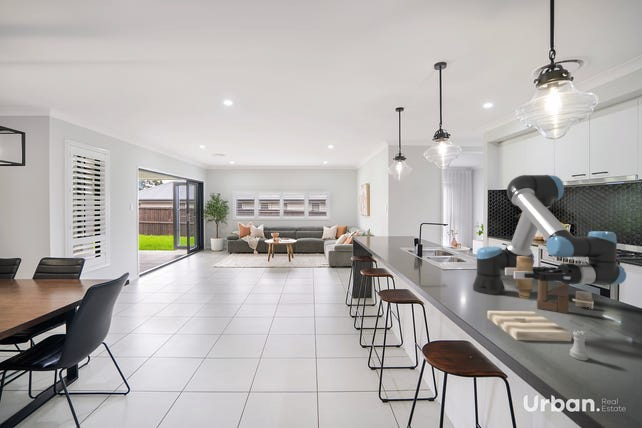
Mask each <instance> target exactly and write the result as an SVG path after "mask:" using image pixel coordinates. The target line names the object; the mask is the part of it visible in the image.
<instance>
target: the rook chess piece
mask: <svg viewBox="0 0 642 428" xmlns="http://www.w3.org/2000/svg"><path fill="white" fill-rule="evenodd" d="M572 335H573V345H572V346H571V348H570V349H569V355H570V357H572V358H573V359H576V360H578V361H583V362H584V361H588V360H589V359H590V358H589V354H588V353H589V352H588V350H587V349H586V346H585V345H586V344H585V342H586V337H587V335H586V331H584V330H581V331H580V330H579V329H574V330H573V332H572Z"/></svg>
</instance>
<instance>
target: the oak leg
mask: <svg viewBox="0 0 642 428" xmlns="http://www.w3.org/2000/svg"><path fill="white" fill-rule="evenodd" d="M533 267H534V264H533V258H532V257H526V256H517V271H533ZM533 280H534V278H533V279H515V283H516V284H515V289H516V290H517V291H518V296H519V298H521V299H529V297H530V294H531V293H530V292H532V291H533V289H534V288H533V284H534V281H533Z"/></svg>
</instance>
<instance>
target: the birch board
mask: <svg viewBox="0 0 642 428" xmlns="http://www.w3.org/2000/svg"><path fill="white" fill-rule="evenodd" d="M486 313H487V317H486V318H487V319H488V320H490V321H491V322H492V323H494V324H495V325H496V326H497V327H499V328H500V329H502V331H504V332H505V333H507V334H509V336H511V338H513V339H515V340H516V341H540V342H541V341H546V342H549V341H550V342H572V335H573V332H572V331H569V330H568V329H566V328H564V327H562V326H561V325H558V324H557V323H555V322H553V321H551V320H549V319H548V318H546V317H545V316H542V315H540V314H538V313H537V312H534V311H532V310H531V311H526V310H525V311H524V310H522V311H520V310H487V312H486Z"/></svg>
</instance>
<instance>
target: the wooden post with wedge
mask: <svg viewBox="0 0 642 428" xmlns="http://www.w3.org/2000/svg"><path fill="white" fill-rule="evenodd" d="M569 289H570V284H564V283H562V282H561V283H559V284H558V285H557V286H555V287H553V288H552V289H550V290H549V281H540V279H538V280H537V299H536V309H537V310H544V311H551V312H558V313H562V314H569V299H570V297H569V292H570V290H569ZM548 295H551V296H556V297H557V298H556V301H553V300H548V299H549V298H548V297H549V296H548Z"/></svg>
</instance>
